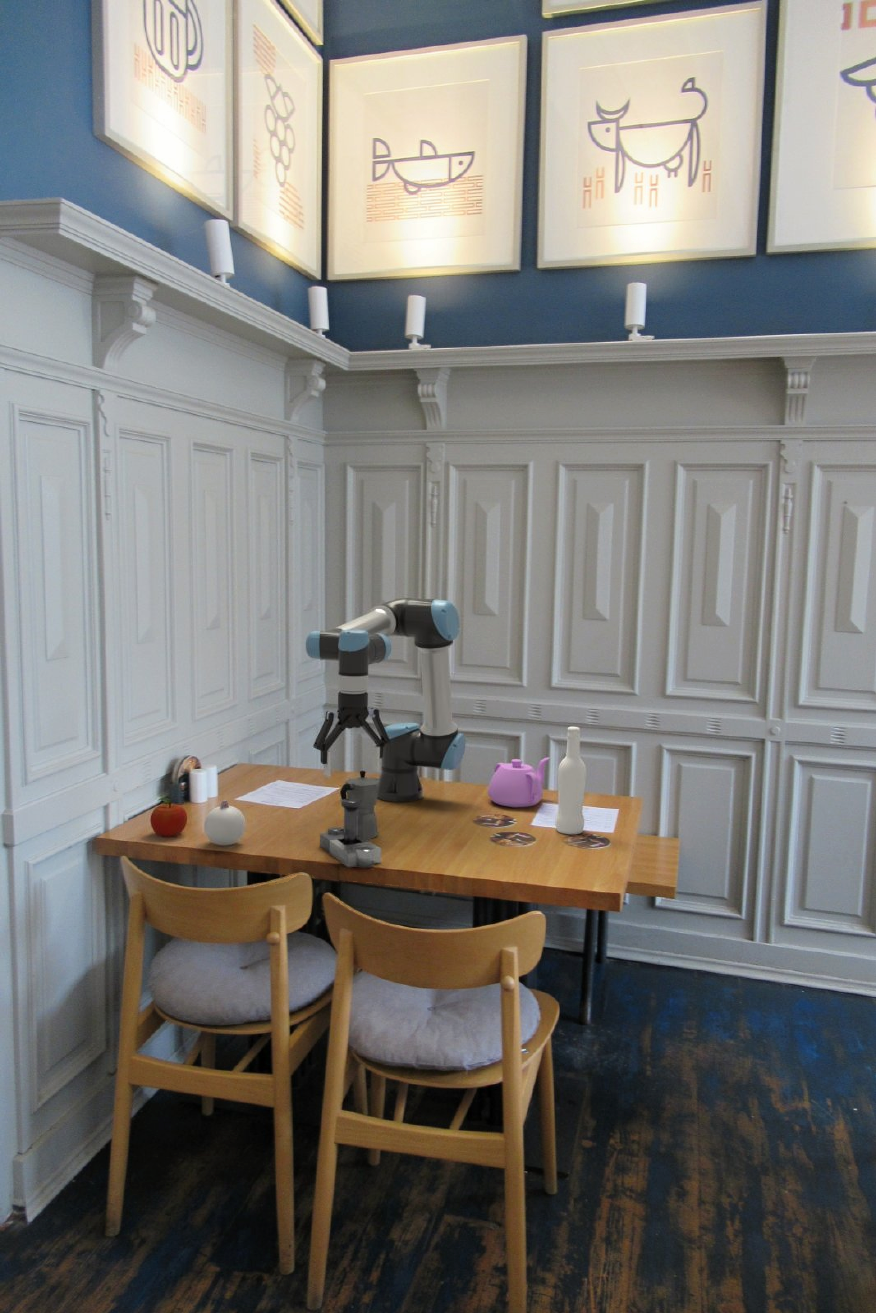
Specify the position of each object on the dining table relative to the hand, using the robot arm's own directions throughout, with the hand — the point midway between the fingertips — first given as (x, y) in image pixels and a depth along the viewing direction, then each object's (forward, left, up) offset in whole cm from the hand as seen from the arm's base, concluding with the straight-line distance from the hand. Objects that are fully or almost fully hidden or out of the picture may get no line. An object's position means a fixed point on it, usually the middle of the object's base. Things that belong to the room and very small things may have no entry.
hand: (351, 773), depth 242 cm
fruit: (+37, -35, -21) cm, 55 cm away
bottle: (-65, +7, -21) cm, 69 cm away
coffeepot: (-9, -13, -21) cm, 27 cm away
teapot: (-70, -24, -21) cm, 77 cm away
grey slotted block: (0, 0, -21) cm, 21 cm away
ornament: (+27, -21, -21) cm, 40 cm away
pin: (0, 0, -21) cm, 21 cm away
